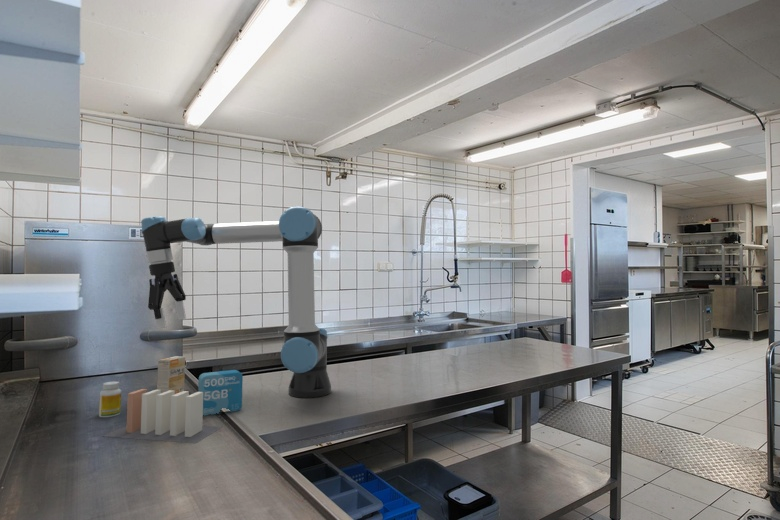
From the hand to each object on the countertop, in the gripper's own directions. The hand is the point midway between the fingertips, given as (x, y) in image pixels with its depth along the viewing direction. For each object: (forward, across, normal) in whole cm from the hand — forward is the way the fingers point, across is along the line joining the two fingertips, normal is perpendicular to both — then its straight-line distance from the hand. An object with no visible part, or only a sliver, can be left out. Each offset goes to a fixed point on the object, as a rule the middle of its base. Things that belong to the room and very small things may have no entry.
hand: (172, 323), depth 146 cm
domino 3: (+22, +36, +12) cm, 44 cm away
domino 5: (+24, +37, +20) cm, 49 cm away
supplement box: (+25, 0, -5) cm, 26 cm away
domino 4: (+23, +37, +16) cm, 46 cm away
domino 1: (+21, +35, +4) cm, 41 cm away
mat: (+23, +36, +12) cm, 44 cm away
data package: (+27, +18, +19) cm, 38 cm away
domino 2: (+22, +35, +8) cm, 42 cm away
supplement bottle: (+21, +22, -11) cm, 33 cm away
